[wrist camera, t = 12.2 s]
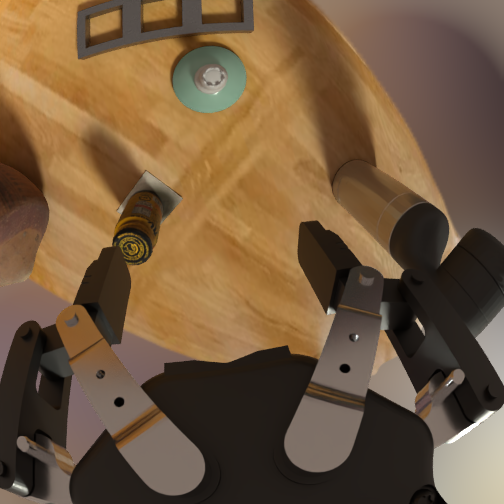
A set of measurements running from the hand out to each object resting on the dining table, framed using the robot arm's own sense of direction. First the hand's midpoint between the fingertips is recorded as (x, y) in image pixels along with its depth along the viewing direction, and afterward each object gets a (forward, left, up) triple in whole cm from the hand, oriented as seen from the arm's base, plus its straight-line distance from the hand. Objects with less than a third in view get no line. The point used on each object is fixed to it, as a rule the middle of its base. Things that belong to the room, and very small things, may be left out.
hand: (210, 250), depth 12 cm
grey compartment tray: (+4, -19, -30) cm, 36 cm away
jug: (+37, 0, -30) cm, 48 cm away
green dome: (-2, -8, -30) cm, 31 cm away
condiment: (+9, +10, -30) cm, 33 cm away
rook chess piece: (-2, -8, -29) cm, 31 cm away
